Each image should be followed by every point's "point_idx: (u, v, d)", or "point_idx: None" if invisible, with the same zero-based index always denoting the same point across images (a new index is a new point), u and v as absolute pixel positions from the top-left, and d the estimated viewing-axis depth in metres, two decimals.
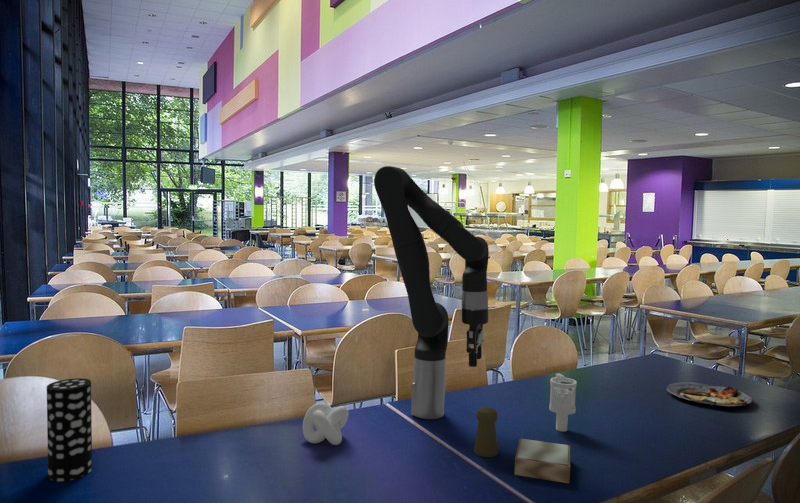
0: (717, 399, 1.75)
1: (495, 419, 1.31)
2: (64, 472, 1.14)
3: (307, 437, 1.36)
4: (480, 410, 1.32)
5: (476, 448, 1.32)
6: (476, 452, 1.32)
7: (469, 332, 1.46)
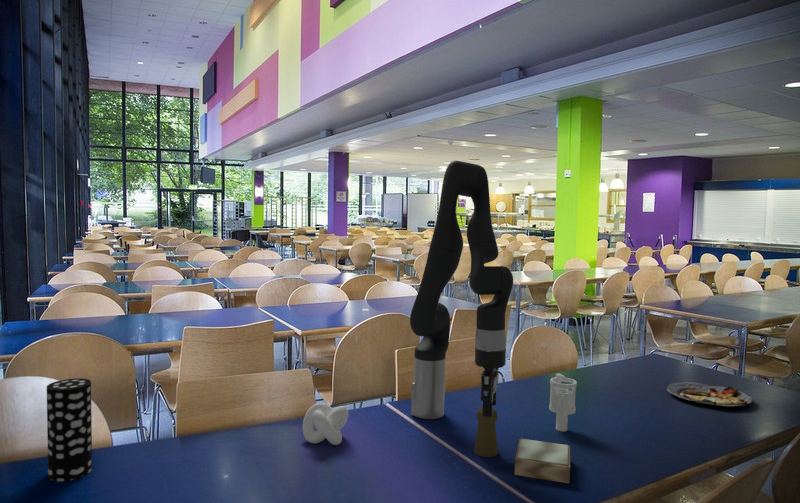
0: (717, 399, 1.75)
1: (495, 419, 1.31)
2: (64, 472, 1.14)
3: (307, 437, 1.36)
4: (480, 410, 1.32)
5: (476, 448, 1.32)
6: (476, 452, 1.32)
7: (484, 377, 1.26)
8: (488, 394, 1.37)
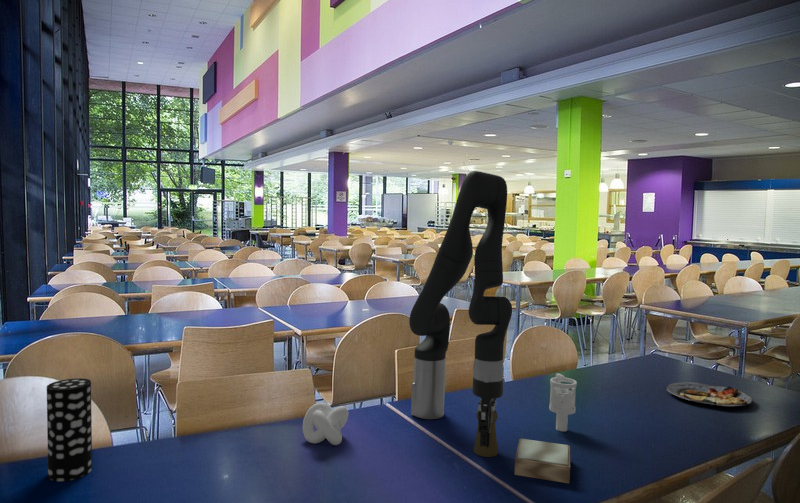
0: (717, 399, 1.75)
1: (495, 419, 1.31)
2: (64, 472, 1.14)
3: (307, 437, 1.36)
4: None
5: (476, 448, 1.32)
6: (476, 452, 1.32)
7: (481, 414, 1.27)
8: None
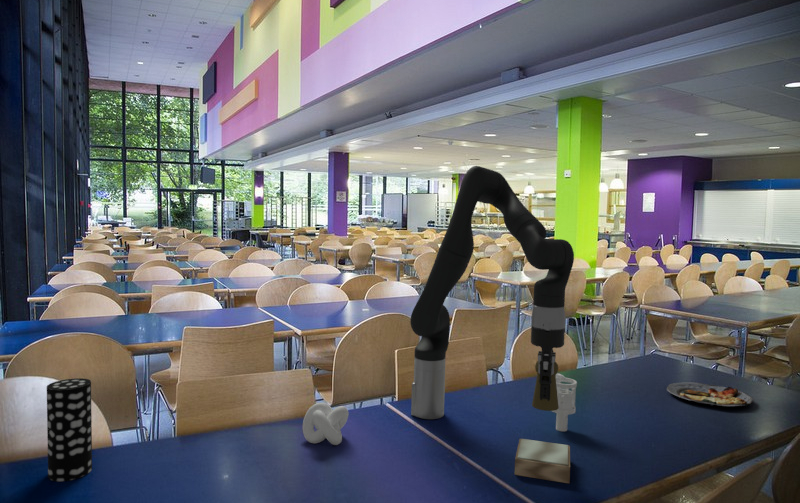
0: (717, 399, 1.75)
1: (556, 370, 1.22)
2: (64, 472, 1.14)
3: (307, 437, 1.36)
4: None
5: (535, 402, 1.23)
6: (535, 406, 1.23)
7: (543, 363, 1.18)
8: None
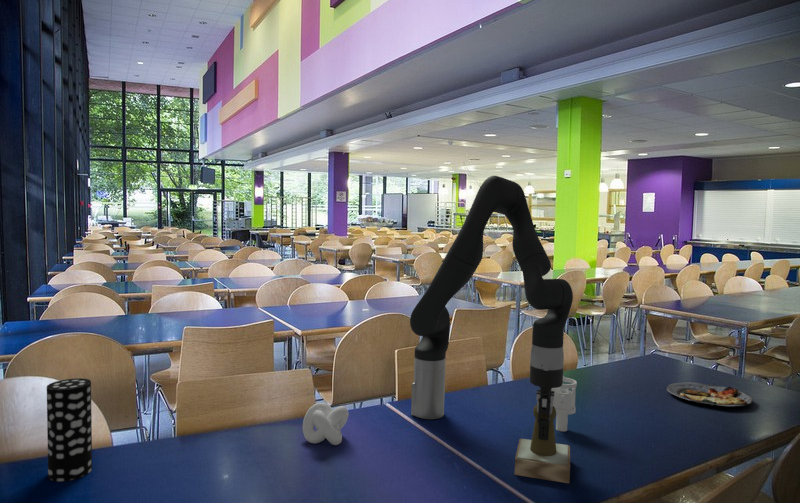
0: (717, 399, 1.75)
1: (554, 416, 1.23)
2: (64, 472, 1.14)
3: (307, 437, 1.36)
4: None
5: (533, 447, 1.24)
6: (533, 451, 1.24)
7: (542, 400, 1.18)
8: None
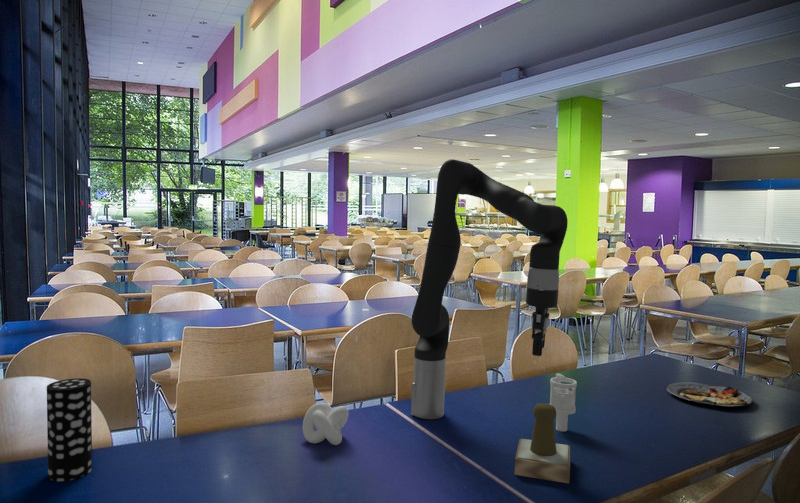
0: (717, 399, 1.75)
1: (554, 416, 1.23)
2: (64, 472, 1.14)
3: (307, 437, 1.36)
4: (537, 406, 1.24)
5: (533, 447, 1.24)
6: (533, 451, 1.24)
7: (536, 315, 1.25)
8: None
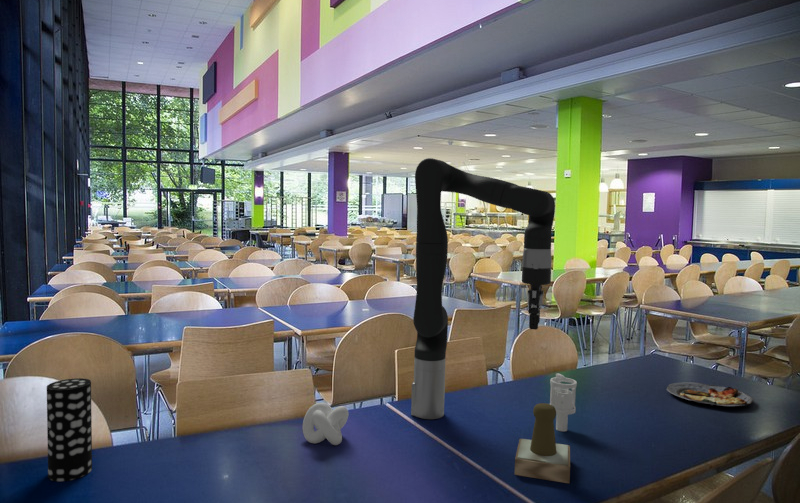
0: (717, 399, 1.75)
1: (554, 416, 1.23)
2: (64, 472, 1.14)
3: (307, 437, 1.36)
4: (537, 406, 1.24)
5: (533, 447, 1.24)
6: (533, 451, 1.24)
7: (532, 291, 1.35)
8: None
